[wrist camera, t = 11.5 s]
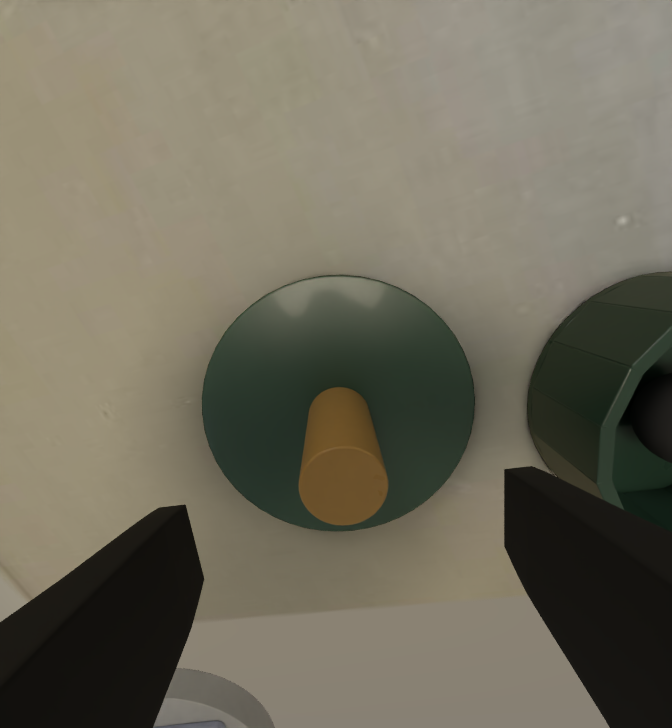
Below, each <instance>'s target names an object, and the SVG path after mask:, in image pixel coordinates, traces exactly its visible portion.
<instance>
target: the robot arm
mask: <svg viewBox="0 0 672 728" xmlns="http://www.w3.org/2000/svg"><path fill="white" fill-rule="evenodd" d="M504 547H505V549H506V551H507V553H508V555H509V557H510V560H511V562H512V564H513V566H514V568H515V570H516V572H517V575H518V577H519V579H520V581H521V583H522V585H523V587H524V589H525V591H526V593H527V594H528V596H529V598H530V599H531V601H532V603H533V604H534V606H535V608H536V609H537V611H538V613H539V614H540V616H541V617H542V619H543V621H544V622H545V624H546V625H547V627H548V629H549V630H550V632H551V634H552V635H553V637H554V638H555V640H556V642H557V643H558V645H559V646H560V648H561V649H562V651H563V653H564V654H565V656H566V657H567V659H568V661H569V662H570V664H571V665H572V667H573V669H574V670H575V672H576V674H577V675H578V677H579V678H580V680H581V682H582V683H583V685H584V686H585V688H586V690H587V691H588V693H589V694H590V696H591V698H592V699H593V701H594V702H595V704H596V706H597V707H598V709H599V710H600V712H601V714H602V715H603V717H604V718H605V720H606V722H607V724H608V725H609V727H610V728H672V532H670V531H668V530H666V529H664V528H662V527H659V526H657V525H655V524H653V523H651V522H649V521H646V520H644V519H642V518H640V517H638V516H636V515H634V514H632V513H629V512H627V511H625V510H623V509H621V508H619V507H617V506H615V505H613V504H611V503H609V502H607V501H605V500H603V499H601V498H599V497H596V496H594V495H592V494H590V493H588V492H586V491H584V490H582V489H580V488H578V487H576V486H574V485H572V484H570V483H568V482H566V481H564V480H562V479H560V478H558V477H556V476H553V475H551V474H549V473H547V472H545V471H542V470H540V469H538V468H535V467H532V466H530V467H521V468H512V469H504ZM203 582H204V576H203V572H202V568H201V564H200V560H199V556H198V552H197V548H196V544H195V540H194V536H193V532H192V528H191V524H190V520H189V516H188V512H187V508H186V505H178V506H169V507H160V508H158V509H156V510H155V511H153V512H151V513H150V514H148V515H147V516H145V517H144V518H143V519H141V520H140V521H138V522H137V523H136V524H134V525H133V526H131V527H130V528H129V529H127V530H126V531H125V532H123V533H122V534H121V535H119V536H118V537H117V538H115V539H114V540H113V541H111V542H110V543H109V544H107V545H106V546H105V547H103V548H102V549H101V550H99V551H98V552H97V553H95V554H94V555H93V556H91V557H90V558H89V559H87V560H86V561H85V562H83V563H82V564H81V565H79V566H78V567H77V568H75V569H74V570H73V571H71V572H70V573H69V574H67V575H66V576H65V577H63V578H62V579H61V580H59V581H58V582H56V583H55V584H54V585H52V586H51V587H49V588H48V589H47V590H45V591H44V592H42V593H41V594H40V595H38V596H37V597H35V598H34V599H33V600H31V601H30V602H28V603H27V604H26V605H24V606H23V607H21V608H20V609H19V610H17V611H16V612H14V613H13V614H11V615H10V616H9V617H8V618H6V619H4V620H3V621H2V622H0V728H226V726H225V724H224V723H223V722H222V721H217V720H215V721H206V722H196V723H186V724H177V725H167V726H158V727H153V726H154V723H155V720H156V718H157V715H158V713H159V710H160V708H161V705H162V703H163V700H164V698H165V695H166V692H167V690H168V687H169V685H170V682H171V680H172V677H173V675H174V672H175V670H176V667H177V664H178V662H179V659H180V657H181V654H182V651H183V648H184V646H185V644H186V641H187V638H188V636H189V633H190V630H191V627H192V624H193V620H194V616H195V613H196V609H197V606H198V602H199V598H200V594H201V590H202V586H203Z"/></svg>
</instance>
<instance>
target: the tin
mask: <svg viewBox="0 0 672 728" xmlns="http://www.w3.org/2000/svg"><path fill="white" fill-rule="evenodd" d="M669 373H672V272H657V273H652V274H646V275H641V276H637V277H634V278H631V279H628V280H625V281H622V282H620V283H618V284H615V285H613V286H611V287H609V288H607V289H605V290H603V291H602V292H600V293H598V294H597V295H595V296H593V297H592V298H590V299H589V300H588V301H586V302H585V303H584V304H582V305H581V306H580V307H578V308H577V309H576V310H575V311H574V312H573V313H572V314H571V315H570V316H569V317H568V318H567V319H566V320H565V321H564V322H563V323H562V324H561V325H560V327H559V328H558V329H557V330H556V331H555V333H554V334H553V335H552V337H551V338H550V340H549V341H548V343H547V344H546V346H545V347H544V349H543V351H542V353H541V355H540V357H539V359H538V361H537V364H536V367H535V369H534V372H533V375H532V378H531V383H530V387H529V392H528V404H527V409H528V422H529V427H530V431H531V435H532V438H533V441H534V443H535V446H536V448H537V450H538V451H539V453H540V455H541V457H542V458H543V459H544V461H545V462H546V463H547V465H548V467H549V468H550V470H551V471H552V472H553V473H554V474H556V475H557V476H558V477H559V478H560V479H562V480H564V481H566V482H568V483H570V484H572V485H574V486H576V487H578V488H580V489H582V490H584V491H586V492H588V493H590V494H592V495H594V496H596V497H599V498H601V499H603V500H605V501H607V502H609V503H611V504H613V505H615V506H617V507H619V508H621V509H623V510H625V511H627V512H629V513H632V514H634V515H636V516H638V517H640V518H642V519H644V520H646V521H649V522H651V523H653V524H655V525H657V526H659V527H662V528H664V529H666V530H668V531H670V532H672V463H670V462H667V461H665V460H663V459H662V458H660V457H658V456H656V455H655V454H653V453H652V452H651V451H649V450H648V449H647V448H646V447H645V446H644V445H643V444H642V443H641V441H640V440H639V439H638V437H637V436H636V434H635V432H634V430H633V427H632V424H631V418H630V411H631V406H632V403H633V400H634V398H635V397H636V395H637V393H638V392H639V391H640V390H641V389H642V388H643V387H644V386H645V385H646V384H648V383H649V382H651V381H652V380H654V379H656V378H658V377H660V376H662V375H666V374H669Z"/></svg>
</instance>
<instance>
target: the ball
mask: <svg viewBox="0 0 672 728" xmlns="http://www.w3.org/2000/svg"><path fill="white" fill-rule="evenodd" d="M630 418H631V424H632V427H633V430H634V432H635V434H636V436H637V437H638V439H639V440H640V441H641V443H642V444H643V445H644V446H645V447H646V448H647V449H648V450H649V451H651V452H652V453H653V454H655V455H656V456H658V457H660V458H662V459H663V460H665V461H667V462H670V463H672V373H669V374H666V375H662V376H660V377H658V378H656V379H654V380H652V381H651V382H649V383H648V384H646V385H645V386H644V387H643V388H642V389H641V390H640V391H639V392H638V393H637V395H636V397H635V398H634V400H633V403H632V406H631V411H630Z"/></svg>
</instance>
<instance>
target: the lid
mask: <svg viewBox="0 0 672 728" xmlns="http://www.w3.org/2000/svg"><path fill="white" fill-rule="evenodd" d="M474 406H475V396H474V385H473V379H472V375H471V371H470V367H469V364H468V361H467V359H466V356H465V354H464V351H463V349H462V347H461V346H460V344H459V342H458V340H457V338H456V337H455V335H454V334H453V332H452V331H451V330H450V328H449V327H448V326H447V325H446V323H445V322H444V321H443V320H442V319H441V318H440V317H439V316H438V315H437V314H436V313H435V312H434V311H433V310H432V309H431V308H430V307H429V306H427V305H426V304H425V303H423V302H422V301H420V300H419V299H418V298H416V297H415V296H413V295H411V294H409V293H408V292H406V291H404V290H402V289H400V288H398V287H395V286H393V285H390V284H387V283H385V282H382V281H379V280H374V279H370V278H365V277H361V276H350V275H328V276H319V277H313V278H308V279H303V280H300V281H297V282H294V283H291V284H288V285H285V286H283V287H281V288H279V289H277V290H275V291H273V292H271V293H269V294H267V295H265V296H264V297H262V298H261V299H259V300H258V301H257V302H255V303H254V304H252V305H251V306H250V307H249V308H247V309H246V310H245V311H244V312H243V313H242V314H241V315H240V316H239V317H237V319H236V320H235V321H234V322H233V323H232V325H231V326H230V327H229V328H228V329H227V331H226V332H225V333H224V335H223V337H222V338H221V340H220V341H219V343H218V345H217V346H216V348H215V351H214V353H213V355H212V357H211V360H210V362H209V365H208V368H207V372H206V375H205V379H204V385H203V393H202V416H203V423H204V429H205V433H206V437H207V440H208V443H209V447H210V449H211V451H212V453H213V456H214V458H215V460H216V462H217V464H218V465H219V467H220V468H221V470H222V472H223V473H224V475H225V476H226V477H227V479H228V480H229V481H230V482H231V484H232V485H233V486H234V487H235V488H236V489H237V490H238V491H239V492H240V493H241V494H242V495H243V496H244V497H245V498H246V499H247V500H249V501H250V502H251V503H253V504H254V505H255V506H257V507H258V508H260V509H261V510H263V511H265V512H266V513H268V514H270V515H272V516H273V517H276V518H278V519H280V520H283V521H285V522H287V523H290V524H294V525H297V526H300V527H304V528H309V529H315V530H321V531H354V530H360V529H366V528H371V527H374V526H378V525H381V524H385V523H387V522H390V521H392V520H394V519H397V518H399V517H401V516H403V515H405V514H407V513H408V512H410V511H412V510H414V509H415V508H417V507H418V506H419V505H421V504H422V503H424V502H425V501H426V500H428V499H429V498H430V497H431V496H432V495H433V494H434V493H435V492H436V491H437V490H439V489H440V487H441V486H442V485H443V484H444V483H445V482H446V480H447V479H448V478H449V477H450V475H451V474H452V472H453V471H454V469H455V468H456V466H457V465H458V463H459V461H460V459H461V457H462V455H463V453H464V451H465V449H466V446H467V443H468V440H469V437H470V434H471V430H472V424H473V419H474Z"/></svg>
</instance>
